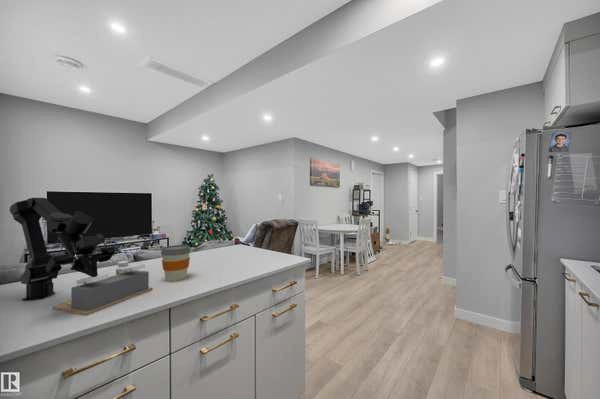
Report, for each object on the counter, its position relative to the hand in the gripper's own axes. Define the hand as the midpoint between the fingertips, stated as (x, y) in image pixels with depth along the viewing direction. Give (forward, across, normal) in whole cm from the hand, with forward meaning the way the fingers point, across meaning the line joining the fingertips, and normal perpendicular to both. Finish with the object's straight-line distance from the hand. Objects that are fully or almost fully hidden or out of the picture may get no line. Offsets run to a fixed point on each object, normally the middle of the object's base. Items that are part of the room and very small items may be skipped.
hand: (95, 276), depth 83 cm
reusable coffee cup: (+8, +34, +7) cm, 36 cm away
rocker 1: (0, 0, +2) cm, 2 cm away
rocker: (0, +14, +2) cm, 14 cm away
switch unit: (+4, +7, +11) cm, 14 cm away
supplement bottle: (-5, +22, +20) cm, 31 cm away
